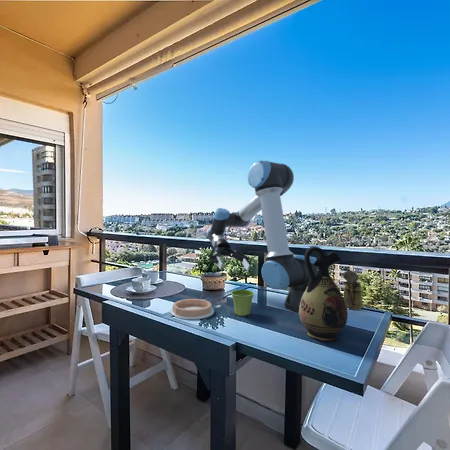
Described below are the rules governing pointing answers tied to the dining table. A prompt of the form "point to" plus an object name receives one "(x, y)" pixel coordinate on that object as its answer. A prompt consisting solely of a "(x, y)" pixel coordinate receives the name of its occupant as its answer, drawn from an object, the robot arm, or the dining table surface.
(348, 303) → the stone figurine
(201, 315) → the ring collar
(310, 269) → the ceramic jug
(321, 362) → the dining table surface
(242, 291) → the plant pot
